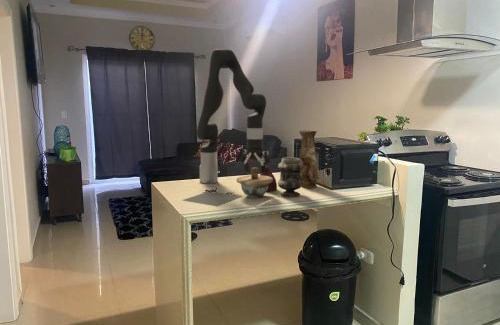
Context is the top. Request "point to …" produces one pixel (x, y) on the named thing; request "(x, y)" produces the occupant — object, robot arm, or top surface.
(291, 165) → the apothecary jar
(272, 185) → the vegetable
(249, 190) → the bowl
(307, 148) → the vase
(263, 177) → the lid
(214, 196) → the mat
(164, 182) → the top surface
